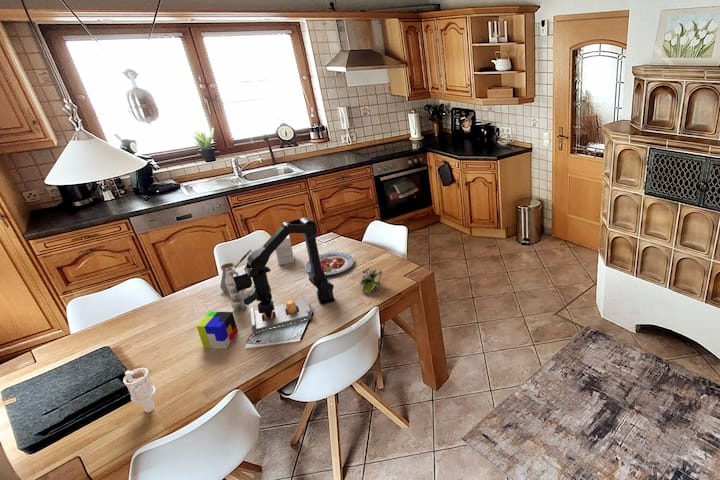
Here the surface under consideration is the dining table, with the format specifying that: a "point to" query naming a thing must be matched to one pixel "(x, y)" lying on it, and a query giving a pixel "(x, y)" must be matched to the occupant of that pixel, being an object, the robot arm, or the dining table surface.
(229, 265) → the coffee pot
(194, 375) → the dining table surface
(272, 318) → the orange rounded plug
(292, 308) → the orange tapered peg
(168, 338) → the dining table surface
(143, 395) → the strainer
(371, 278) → the green leafy clump
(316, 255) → the robot arm
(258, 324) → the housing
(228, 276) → the plastic bottle
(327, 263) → the ceramic plate
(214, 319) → the puzzle toy
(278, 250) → the supplement box
